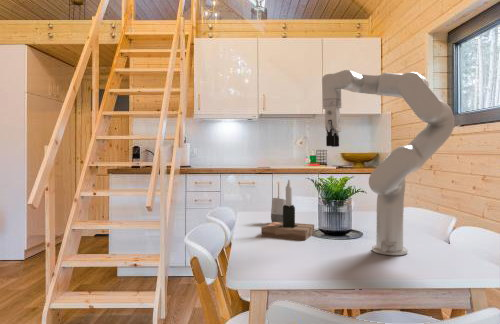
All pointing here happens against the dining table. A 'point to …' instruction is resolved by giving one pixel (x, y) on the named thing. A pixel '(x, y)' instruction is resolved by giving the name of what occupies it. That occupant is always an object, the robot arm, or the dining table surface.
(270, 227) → the holder
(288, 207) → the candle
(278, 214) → the smart speaker
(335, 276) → the dining table surface
